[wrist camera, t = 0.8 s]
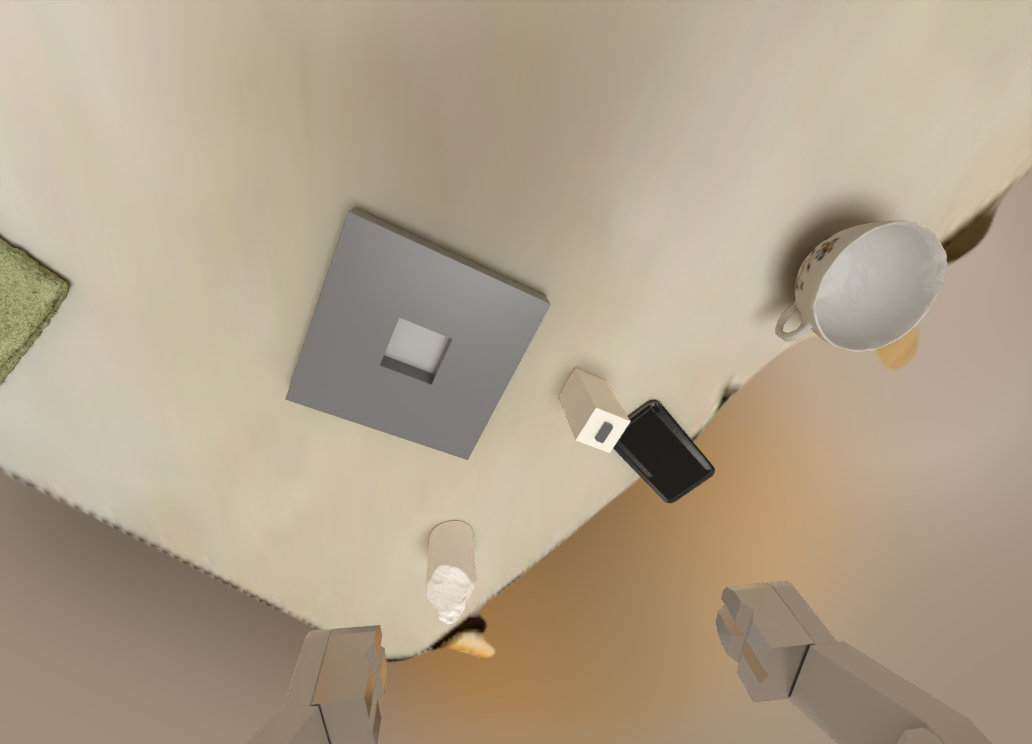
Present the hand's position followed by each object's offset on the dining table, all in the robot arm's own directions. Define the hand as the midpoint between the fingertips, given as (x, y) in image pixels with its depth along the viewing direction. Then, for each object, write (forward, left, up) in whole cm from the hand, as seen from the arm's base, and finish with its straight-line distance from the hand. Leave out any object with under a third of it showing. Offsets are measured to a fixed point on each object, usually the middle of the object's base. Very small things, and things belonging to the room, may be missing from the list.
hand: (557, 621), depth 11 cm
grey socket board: (+11, -2, -40) cm, 41 cm away
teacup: (-13, +34, -40) cm, 54 cm away
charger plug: (+9, +17, -40) cm, 44 cm away
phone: (+13, +31, -40) cm, 52 cm away
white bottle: (+35, +12, -40) cm, 54 cm away
